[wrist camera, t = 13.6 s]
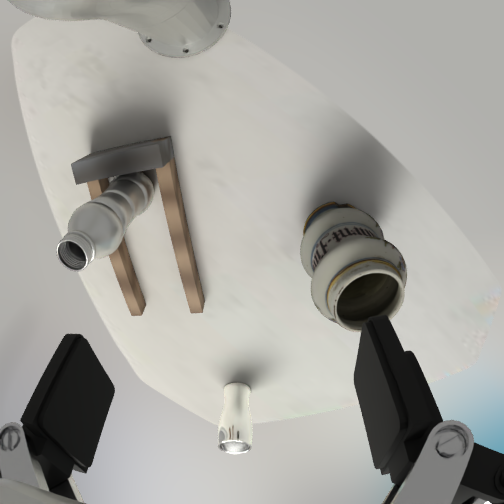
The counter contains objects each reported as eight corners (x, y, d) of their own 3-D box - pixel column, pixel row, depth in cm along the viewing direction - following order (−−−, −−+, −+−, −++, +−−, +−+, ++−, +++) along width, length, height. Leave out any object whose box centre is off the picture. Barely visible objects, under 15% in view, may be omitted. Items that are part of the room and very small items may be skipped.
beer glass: (258, 392, 67) (259, 449, 54) (233, 401, 69) (231, 456, 56) (240, 377, 64) (238, 437, 51) (215, 387, 66) (209, 444, 53)
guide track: (90, 153, 41) (70, 164, 36) (170, 136, 41) (158, 143, 35) (136, 305, 55) (126, 327, 50) (204, 301, 54) (200, 324, 49)
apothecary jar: (375, 195, 45) (431, 255, 29) (365, 264, 51) (404, 340, 35) (296, 194, 45) (320, 258, 29) (294, 266, 51) (309, 348, 35)
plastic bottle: (114, 167, 43) (37, 224, 25) (157, 166, 43) (94, 225, 25) (118, 207, 46) (53, 280, 28) (159, 208, 46) (107, 286, 28)
